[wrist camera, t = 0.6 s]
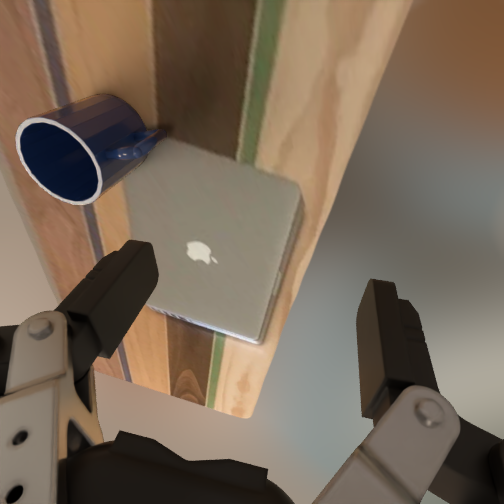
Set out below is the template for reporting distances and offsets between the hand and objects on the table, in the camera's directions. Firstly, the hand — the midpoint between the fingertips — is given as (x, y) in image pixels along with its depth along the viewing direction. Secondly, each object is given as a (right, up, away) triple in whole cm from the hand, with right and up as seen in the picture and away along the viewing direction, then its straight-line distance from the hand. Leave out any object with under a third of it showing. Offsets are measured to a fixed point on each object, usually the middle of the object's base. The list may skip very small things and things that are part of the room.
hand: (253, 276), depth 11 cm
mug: (-15, +16, +26) cm, 34 cm away
